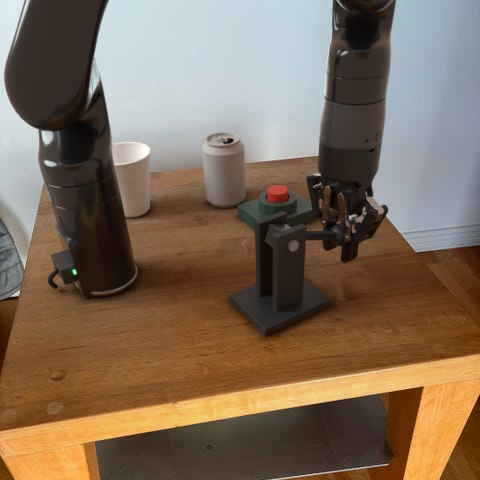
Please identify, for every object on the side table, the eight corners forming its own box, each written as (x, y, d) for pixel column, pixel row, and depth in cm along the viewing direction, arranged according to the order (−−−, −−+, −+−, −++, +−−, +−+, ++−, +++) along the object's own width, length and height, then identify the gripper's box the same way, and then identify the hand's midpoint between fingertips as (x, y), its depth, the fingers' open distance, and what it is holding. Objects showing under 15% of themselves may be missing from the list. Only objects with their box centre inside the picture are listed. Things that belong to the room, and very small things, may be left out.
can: (241, 211, 91) (239, 146, 83) (202, 208, 92) (195, 144, 85) (249, 192, 97) (247, 130, 89) (211, 190, 98) (206, 128, 90)
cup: (161, 220, 90) (151, 161, 83) (105, 226, 89) (90, 167, 82) (159, 195, 97) (150, 139, 90) (107, 200, 96) (94, 144, 89)
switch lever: (337, 240, 72) (344, 219, 71) (352, 249, 70) (360, 228, 69) (261, 242, 64) (267, 219, 63) (275, 253, 62) (282, 229, 61)
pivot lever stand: (291, 275, 76) (294, 197, 67) (330, 306, 70) (338, 225, 61) (229, 301, 71) (223, 222, 63) (264, 336, 65) (264, 254, 57)
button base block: (266, 237, 84) (266, 216, 81) (237, 216, 90) (236, 195, 87) (317, 218, 88) (319, 197, 85) (287, 199, 94) (287, 179, 91)
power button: (275, 206, 85) (275, 196, 84) (263, 198, 87) (263, 188, 86) (292, 200, 86) (292, 190, 85) (279, 192, 88) (280, 183, 87)
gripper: (290, 125, 64) (288, 241, 75) (368, 161, 54) (352, 287, 66) (336, 112, 66) (327, 226, 78) (417, 144, 57) (394, 268, 68)
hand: (338, 253), depth 72 cm, fingers closed on switch lever, 3 cm apart
